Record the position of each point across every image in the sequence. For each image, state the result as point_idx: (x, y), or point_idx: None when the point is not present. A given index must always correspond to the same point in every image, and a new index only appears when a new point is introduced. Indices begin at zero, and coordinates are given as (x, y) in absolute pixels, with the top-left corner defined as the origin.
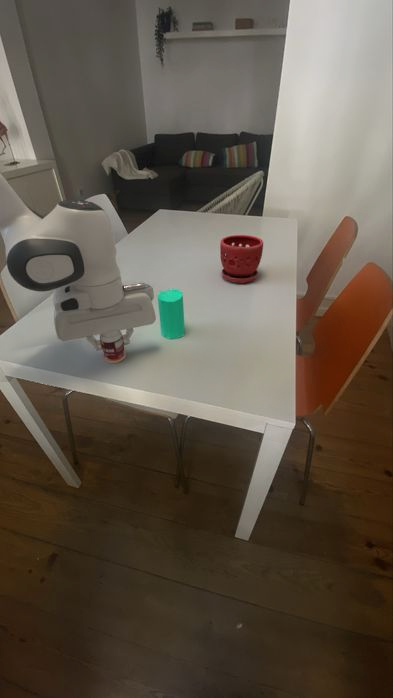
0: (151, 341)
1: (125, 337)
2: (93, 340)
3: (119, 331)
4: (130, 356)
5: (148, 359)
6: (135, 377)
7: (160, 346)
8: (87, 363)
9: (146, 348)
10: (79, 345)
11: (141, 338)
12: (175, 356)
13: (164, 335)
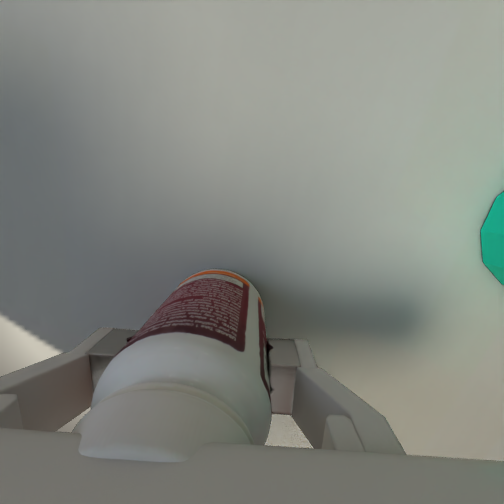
0: (407, 264)
1: (288, 397)
2: (50, 417)
3: (256, 438)
4: (280, 331)
5: (344, 377)
6: (268, 444)
7: (428, 317)
8: (99, 305)
9: (363, 306)
10: (53, 148)
11: (371, 218)
12: (452, 401)
13: (494, 263)
